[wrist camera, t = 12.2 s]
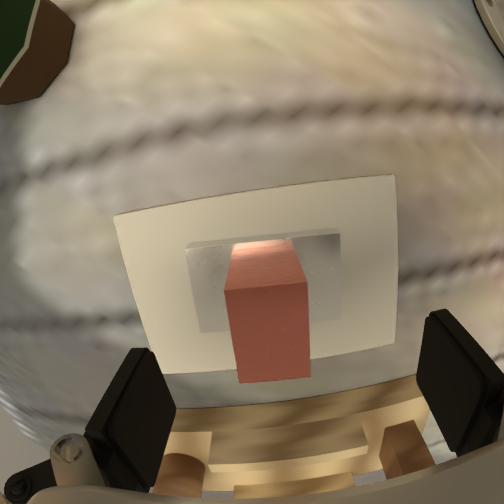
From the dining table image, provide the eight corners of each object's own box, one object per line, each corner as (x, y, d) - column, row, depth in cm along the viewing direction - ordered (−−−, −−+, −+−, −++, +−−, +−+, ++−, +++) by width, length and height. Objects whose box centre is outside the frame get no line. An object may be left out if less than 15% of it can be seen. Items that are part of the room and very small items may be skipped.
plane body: (421, 372, 21) (462, 439, 14) (405, 440, 23) (429, 499, 16) (143, 408, 22) (115, 481, 15) (176, 469, 24) (162, 531, 17)
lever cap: (334, 227, 17) (373, 266, 11) (336, 309, 18) (366, 373, 12) (188, 243, 17) (156, 288, 11) (203, 322, 19) (184, 390, 13)
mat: (391, 174, 16) (394, 175, 16) (391, 339, 20) (394, 343, 19) (116, 214, 17) (112, 216, 17) (162, 369, 21) (160, 373, 20)
